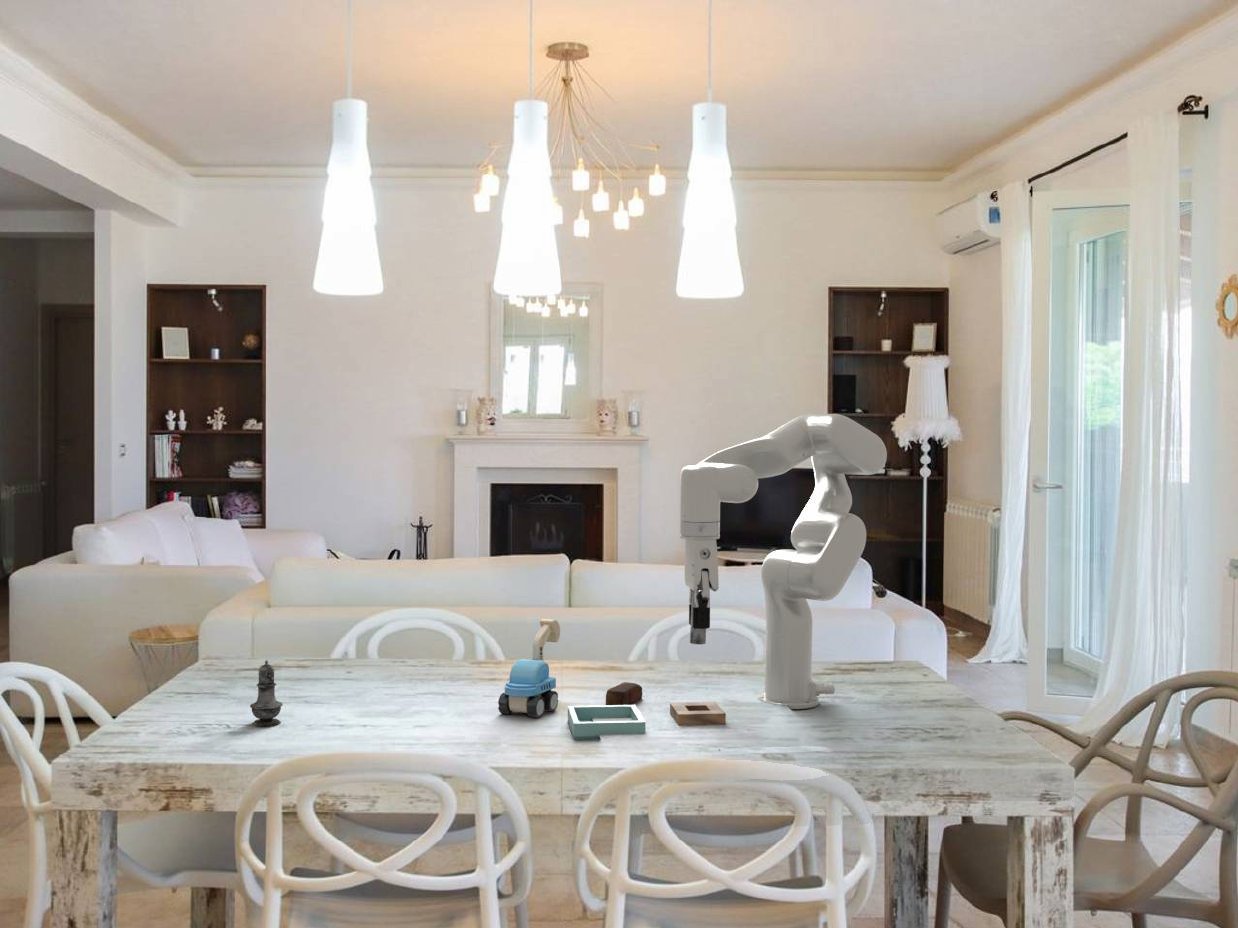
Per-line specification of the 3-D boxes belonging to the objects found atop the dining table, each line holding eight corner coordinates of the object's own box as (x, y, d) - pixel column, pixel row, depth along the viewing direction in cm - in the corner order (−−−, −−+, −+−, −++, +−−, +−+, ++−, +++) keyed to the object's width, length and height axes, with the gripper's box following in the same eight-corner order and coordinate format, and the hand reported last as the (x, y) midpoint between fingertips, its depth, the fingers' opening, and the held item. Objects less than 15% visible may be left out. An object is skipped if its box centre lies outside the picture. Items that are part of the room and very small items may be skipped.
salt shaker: (253, 728, 214) (253, 664, 213) (247, 721, 219) (247, 658, 218) (285, 725, 216) (285, 661, 216) (279, 718, 221) (279, 655, 221)
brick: (623, 715, 227) (623, 692, 227) (604, 713, 229) (605, 690, 228) (642, 704, 237) (643, 681, 237) (624, 702, 238) (625, 679, 238)
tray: (634, 720, 223) (635, 704, 223) (645, 738, 210) (645, 721, 210) (567, 721, 221) (567, 706, 221) (573, 739, 208) (574, 723, 208)
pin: (703, 641, 222) (706, 589, 222) (707, 644, 219) (709, 592, 219) (688, 641, 222) (690, 589, 222) (691, 644, 219) (693, 591, 219)
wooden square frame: (715, 717, 226) (715, 701, 226) (725, 729, 217) (725, 713, 217) (669, 718, 225) (670, 702, 225) (678, 730, 216) (678, 714, 216)
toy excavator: (573, 702, 237) (574, 619, 236) (534, 721, 222) (534, 632, 221) (537, 698, 240) (537, 616, 240) (495, 716, 225) (496, 628, 225)
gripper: (728, 534, 212) (728, 634, 213) (710, 526, 229) (709, 618, 229) (688, 534, 211) (688, 634, 212) (673, 526, 228) (672, 619, 228)
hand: (699, 625), depth 221 cm, fingers closed on pin, 3 cm apart
